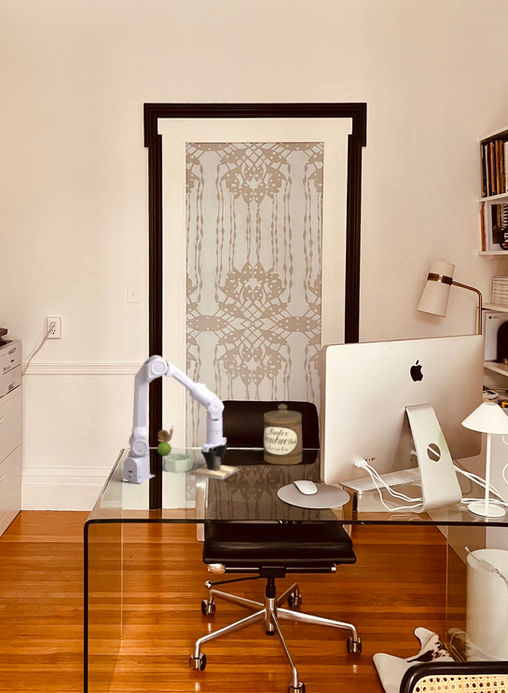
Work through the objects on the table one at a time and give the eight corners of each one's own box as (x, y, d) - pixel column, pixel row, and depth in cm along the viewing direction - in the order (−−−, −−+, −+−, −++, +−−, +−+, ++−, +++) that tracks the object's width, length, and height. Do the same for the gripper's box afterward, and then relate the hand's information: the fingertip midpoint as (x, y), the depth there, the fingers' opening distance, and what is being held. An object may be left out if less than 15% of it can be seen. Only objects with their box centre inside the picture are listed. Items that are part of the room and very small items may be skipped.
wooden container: (258, 463, 270) (258, 406, 268) (270, 453, 284) (270, 399, 282) (296, 467, 266) (296, 409, 263) (306, 456, 280) (306, 401, 277)
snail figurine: (172, 457, 280) (172, 427, 278) (156, 457, 280) (155, 427, 278) (174, 453, 285) (174, 424, 284) (158, 453, 285) (158, 424, 284)
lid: (221, 478, 250) (221, 463, 250) (192, 474, 255) (192, 459, 255) (237, 469, 261) (236, 455, 260) (208, 465, 266) (208, 451, 266)
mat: (223, 480, 249) (223, 479, 249) (188, 475, 255) (188, 474, 255) (240, 470, 262) (240, 469, 262) (207, 465, 268) (207, 464, 267)
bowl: (182, 474, 256) (182, 462, 256) (158, 471, 261) (158, 459, 260) (196, 467, 265) (196, 455, 265) (173, 464, 270) (173, 452, 269)
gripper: (214, 435, 248) (215, 473, 250) (233, 426, 261) (233, 462, 263) (197, 433, 251) (197, 470, 253) (216, 425, 264) (216, 460, 266)
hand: (214, 466), depth 258 cm, fingers open, 6 cm apart
